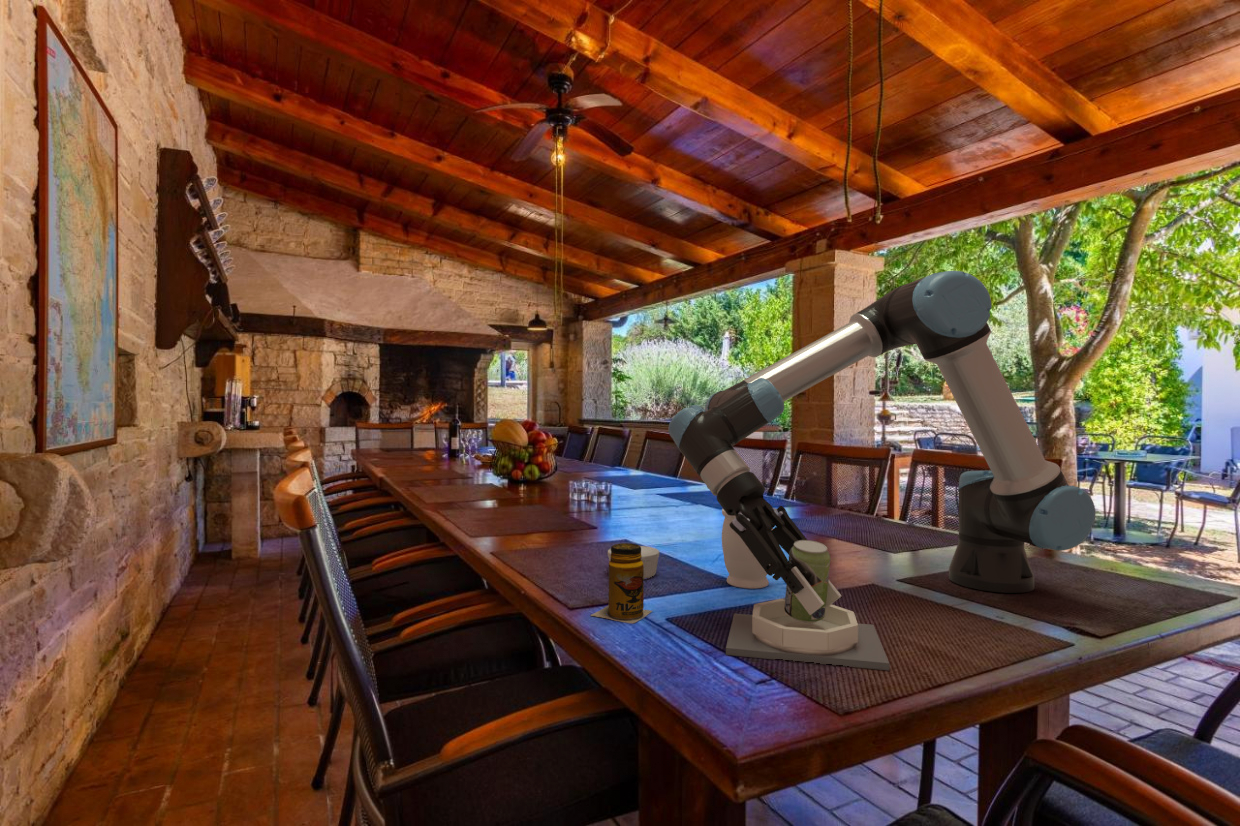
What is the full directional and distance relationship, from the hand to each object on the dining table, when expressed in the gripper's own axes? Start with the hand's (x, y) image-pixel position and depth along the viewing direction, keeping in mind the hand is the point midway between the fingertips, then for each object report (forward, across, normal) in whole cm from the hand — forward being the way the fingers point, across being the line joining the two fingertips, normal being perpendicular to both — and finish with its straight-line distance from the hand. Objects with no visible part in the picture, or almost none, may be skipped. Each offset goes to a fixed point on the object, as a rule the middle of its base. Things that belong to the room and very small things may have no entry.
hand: (825, 605), depth 95 cm
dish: (+1, 0, -6) cm, 7 cm away
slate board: (+2, 0, -7) cm, 7 cm away
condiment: (-18, +10, -28) cm, 35 cm away
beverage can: (0, -1, -5) cm, 5 cm away
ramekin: (-30, -11, -40) cm, 51 cm away
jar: (-15, -22, -24) cm, 36 cm away
